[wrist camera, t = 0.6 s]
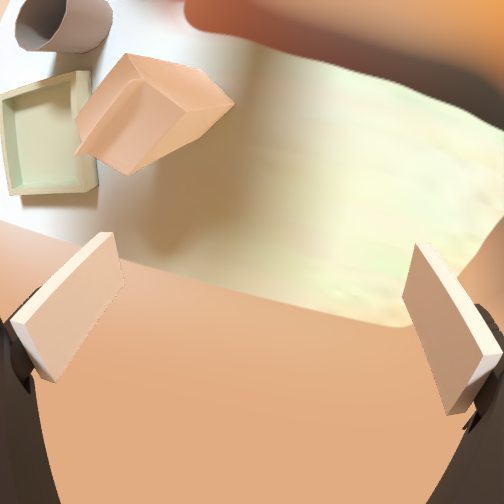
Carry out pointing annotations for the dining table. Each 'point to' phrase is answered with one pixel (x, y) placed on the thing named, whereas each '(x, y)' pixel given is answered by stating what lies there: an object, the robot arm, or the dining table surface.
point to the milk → (147, 112)
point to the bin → (46, 136)
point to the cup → (63, 25)
